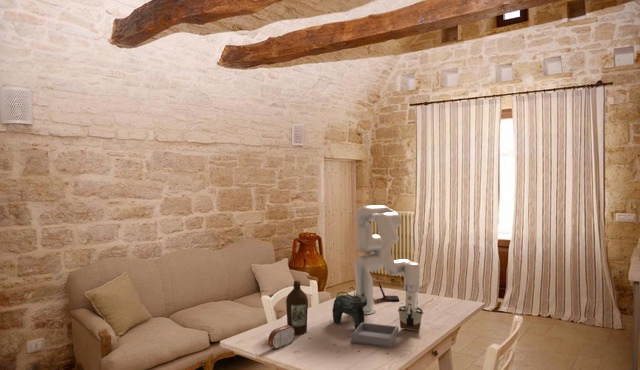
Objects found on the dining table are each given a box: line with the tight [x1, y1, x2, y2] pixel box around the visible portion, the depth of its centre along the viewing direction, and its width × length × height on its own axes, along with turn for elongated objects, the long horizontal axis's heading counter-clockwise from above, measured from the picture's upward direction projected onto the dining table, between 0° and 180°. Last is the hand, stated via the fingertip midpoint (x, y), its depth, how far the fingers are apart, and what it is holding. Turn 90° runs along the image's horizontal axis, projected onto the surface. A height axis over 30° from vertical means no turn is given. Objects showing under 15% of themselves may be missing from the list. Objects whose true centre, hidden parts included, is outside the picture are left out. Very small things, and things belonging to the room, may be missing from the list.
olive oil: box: [285, 279, 309, 336], centre depth 222 cm, size 11×11×25 cm
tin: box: [267, 324, 296, 350], centre depth 204 cm, size 15×3×8 cm, turn 141°
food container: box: [397, 305, 424, 332], centre depth 225 cm, size 12×6×10 cm, turn 71°
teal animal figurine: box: [332, 286, 367, 329], centre depth 230 cm, size 20×6×20 cm, turn 47°
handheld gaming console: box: [377, 282, 400, 303], centre depth 279 cm, size 9×12×10 cm
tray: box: [350, 322, 399, 349], centre depth 212 cm, size 18×18×4 cm
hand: (411, 323), depth 225 cm, fingers closed on food container, 5 cm apart
